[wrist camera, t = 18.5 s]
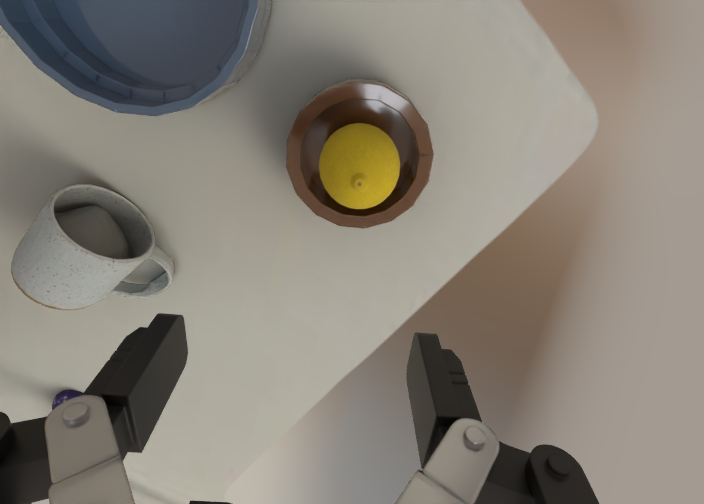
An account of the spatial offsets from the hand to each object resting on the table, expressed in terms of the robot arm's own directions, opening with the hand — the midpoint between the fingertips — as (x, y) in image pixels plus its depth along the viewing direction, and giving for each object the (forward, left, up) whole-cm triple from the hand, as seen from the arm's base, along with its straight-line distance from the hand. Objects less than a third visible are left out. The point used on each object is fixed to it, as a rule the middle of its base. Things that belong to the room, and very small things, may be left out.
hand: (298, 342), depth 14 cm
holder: (+2, +2, -21) cm, 21 cm away
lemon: (+2, +2, -20) cm, 21 cm away
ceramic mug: (-18, -8, -21) cm, 29 cm away
